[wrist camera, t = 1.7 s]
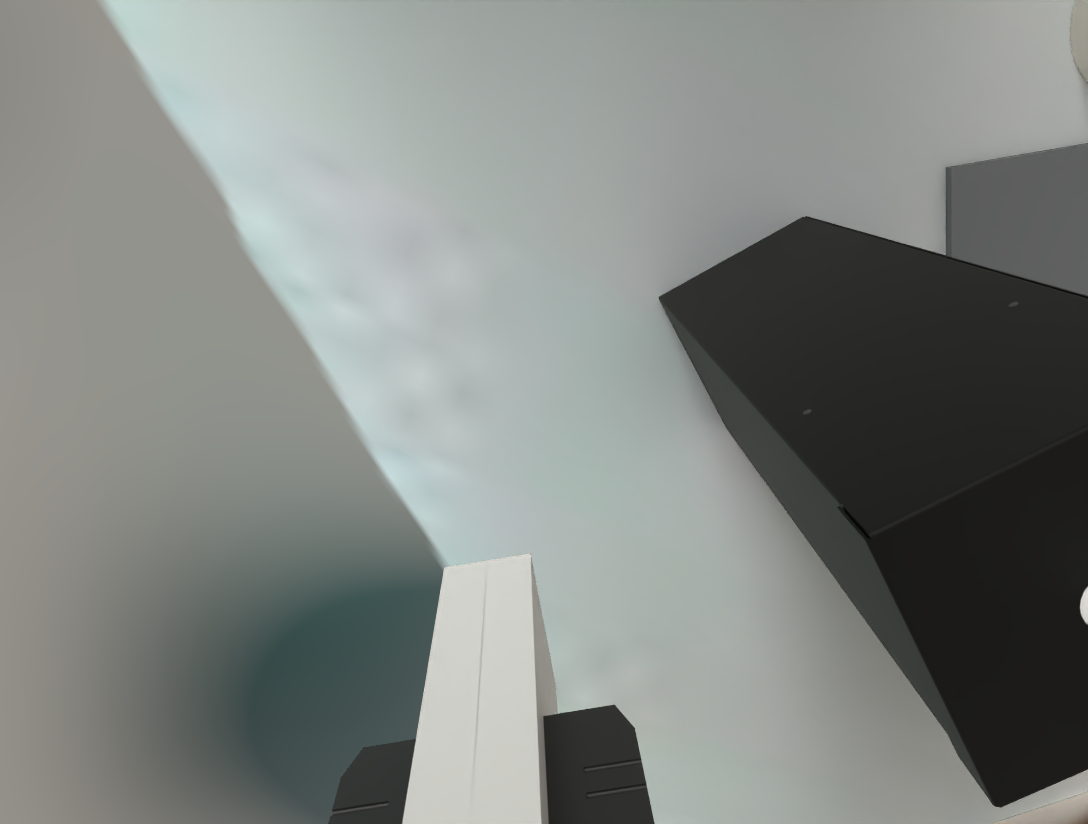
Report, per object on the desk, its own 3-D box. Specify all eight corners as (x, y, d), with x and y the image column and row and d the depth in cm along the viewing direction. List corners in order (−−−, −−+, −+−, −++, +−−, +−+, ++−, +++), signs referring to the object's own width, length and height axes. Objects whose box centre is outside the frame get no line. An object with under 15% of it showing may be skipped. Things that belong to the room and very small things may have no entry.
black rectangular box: (866, 354, 40) (1538, 772, 14) (724, 429, 41) (1097, 952, 15) (804, 212, 38) (1466, 394, 12) (654, 296, 39) (950, 636, 13)
